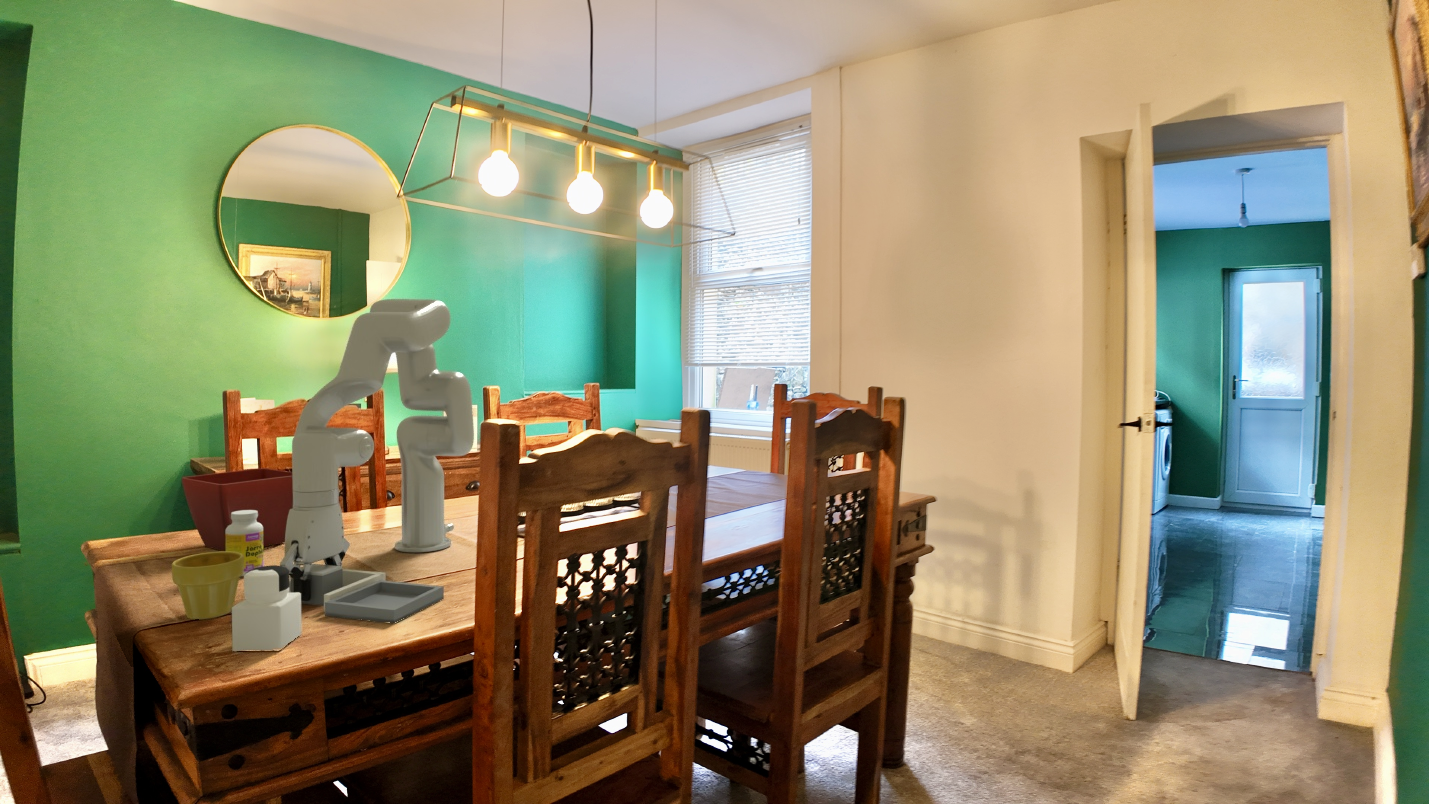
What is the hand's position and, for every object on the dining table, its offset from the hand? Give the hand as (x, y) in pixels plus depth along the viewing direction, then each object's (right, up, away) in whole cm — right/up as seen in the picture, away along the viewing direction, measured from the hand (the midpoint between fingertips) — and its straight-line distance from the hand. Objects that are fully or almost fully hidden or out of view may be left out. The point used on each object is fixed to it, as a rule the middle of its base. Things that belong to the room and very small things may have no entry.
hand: (317, 593), depth 138 cm
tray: (+15, -2, -4) cm, 15 cm away
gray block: (0, -1, 0) cm, 1 cm away
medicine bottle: (+4, -3, -22) cm, 22 cm away
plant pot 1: (-39, +1, +40) cm, 55 cm away
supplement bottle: (-24, 0, +16) cm, 29 cm away
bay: (0, -1, +2) cm, 2 cm away
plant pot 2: (-14, -2, -8) cm, 17 cm away
